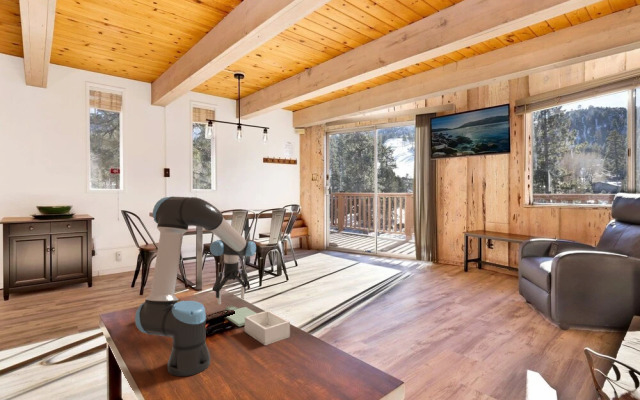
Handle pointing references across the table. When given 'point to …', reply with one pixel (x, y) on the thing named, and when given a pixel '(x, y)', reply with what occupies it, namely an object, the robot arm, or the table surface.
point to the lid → (239, 315)
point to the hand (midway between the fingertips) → (231, 301)
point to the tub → (267, 327)
